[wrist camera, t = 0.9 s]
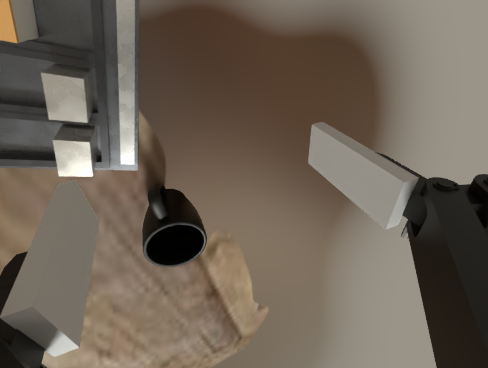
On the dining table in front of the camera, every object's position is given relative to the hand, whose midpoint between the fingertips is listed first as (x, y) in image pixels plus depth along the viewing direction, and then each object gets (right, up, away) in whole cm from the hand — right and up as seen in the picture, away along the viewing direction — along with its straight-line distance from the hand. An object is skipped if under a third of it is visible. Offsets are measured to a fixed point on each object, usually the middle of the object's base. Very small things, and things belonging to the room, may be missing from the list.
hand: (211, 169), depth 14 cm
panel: (-20, +10, +11) cm, 25 cm away
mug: (-11, -2, +25) cm, 27 cm away
